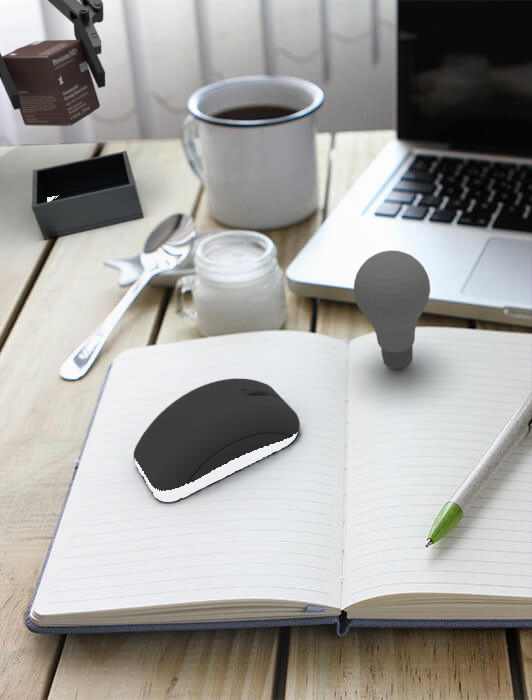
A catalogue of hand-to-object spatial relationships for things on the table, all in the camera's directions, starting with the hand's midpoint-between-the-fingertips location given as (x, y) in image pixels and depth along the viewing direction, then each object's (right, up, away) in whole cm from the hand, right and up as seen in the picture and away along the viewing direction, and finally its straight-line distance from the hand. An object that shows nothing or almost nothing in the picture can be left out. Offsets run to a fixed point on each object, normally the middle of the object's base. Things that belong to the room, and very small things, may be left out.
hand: (59, 90), depth 81 cm
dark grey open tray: (0, -10, +11) cm, 15 cm away
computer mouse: (+21, -34, -25) cm, 47 cm away
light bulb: (+34, -28, -19) cm, 48 cm away
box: (-1, -2, +5) cm, 5 cm away
